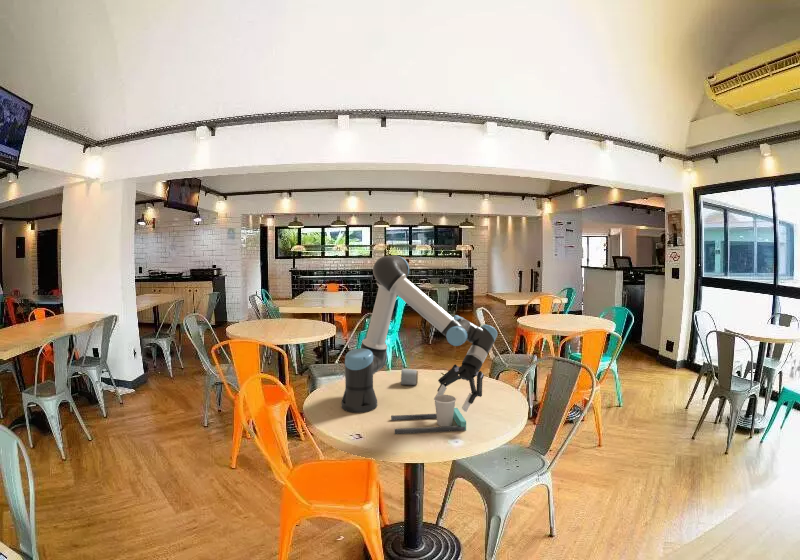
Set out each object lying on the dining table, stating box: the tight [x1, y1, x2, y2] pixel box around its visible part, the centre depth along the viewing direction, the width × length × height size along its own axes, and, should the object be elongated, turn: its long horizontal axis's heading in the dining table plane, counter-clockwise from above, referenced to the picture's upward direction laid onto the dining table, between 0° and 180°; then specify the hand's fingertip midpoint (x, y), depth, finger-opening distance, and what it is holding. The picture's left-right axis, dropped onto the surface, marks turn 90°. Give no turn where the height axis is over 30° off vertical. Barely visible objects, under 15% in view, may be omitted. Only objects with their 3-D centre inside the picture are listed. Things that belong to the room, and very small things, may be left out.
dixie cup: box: [433, 394, 457, 427], centre depth 168 cm, size 8×8×10 cm
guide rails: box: [390, 413, 465, 435], centre depth 167 cm, size 26×13×2 cm, turn 97°
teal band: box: [453, 407, 467, 432], centre depth 168 cm, size 2×13×4 cm, turn 7°
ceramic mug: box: [400, 368, 419, 386], centre depth 215 cm, size 11×8×8 cm
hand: (449, 405), depth 168 cm, fingers open, 13 cm apart
